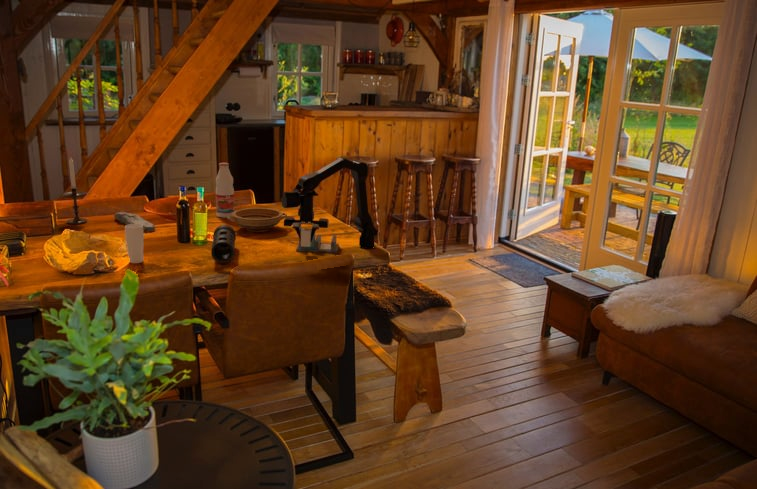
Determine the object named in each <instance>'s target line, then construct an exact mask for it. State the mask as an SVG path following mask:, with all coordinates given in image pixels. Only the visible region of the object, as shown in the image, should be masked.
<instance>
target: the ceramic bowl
mask: <svg viewBox="0 0 757 489" xmlns="http://www.w3.org/2000/svg"><path fill="white" fill-rule="evenodd" d="M232 215H233V217H231V216H228V217H227V220H228V221H231V222H233V223H236V224H237V225H238V226H240V227H241V228H245V229H246V231H247V232H251V233H252V232H254V233H262V232H267V231H269V230H270V228H273V227H275V226H277V225H278V224H280V222H281V221H282V220H284V219H285V218H286V217H288V213H286V212H282V211H281V210H278V209H274V208H267V207H248V208H243V209H242V208H241V209H238V210H235V212H233V213H232Z"/></svg>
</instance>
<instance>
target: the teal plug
mask: <svg viewBox="0 0 757 489" xmlns="http://www.w3.org/2000/svg"><path fill="white" fill-rule="evenodd" d="M315 240H316V233H315V234H314V237H313V240H312V242H311V246H310V247H315Z"/></svg>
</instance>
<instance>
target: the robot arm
mask: <svg viewBox="0 0 757 489" xmlns="http://www.w3.org/2000/svg"><path fill="white" fill-rule="evenodd" d="M343 169H348V170H350V174H351V177H352V178H353V181H354V186H355V196H356V205H357V207H356V208H357V214H356V215H354V216H353V220H354V224H353V225H355V227H356V229H358V232H359V233H360V235H359V248H360V249H369V248H373V247H374V245H375V246H376V244H375V241H376V238H375V236H378V233H379V230H378V229H377V228H376V227H375V226H374V223H373V218H372V216H371V213H370V211H369V202H368V195H367V194H368V193H367V183H366V181H367V178H368V176H369V166H368V164H367V163H366V162H363V161H359V160H357V159H356V160H353V161H352V160H350V159H347V158H345V157H342V156H341V157H340V156H339V157H338V158H337V159H336V160H334V161H332V162H331V163H329V164H327V165H325V166H324V167H322V168H320V169H319V170H317V171H315V172H311V173H308V174H305V175H302V176H300V177H299V178H298V182H297V184H296V185H295V187H294V189H293V190H292V191H283V194H282V196H281V206H282V207H283V209H291V208H298V207H299V208H298V209H297V216H298V217H299V219H296V218H295V217H294V216H287V217H286V218H284V219H283V227H292V229H294V230H295V232H296V233H297V237H298V238H299V240H300V241H301V230H302V225H308V226H309V225H312V227H311V229H312V231H311V242H312V240H313V237H314V234H315V235H316V231H317V230H319V229H320V228H321V229H328V228H329V223H330V220H329V219H328V218H321V217H320V218H319V219H318V220H315V211H314V197H317V196H319V193H317V192H316V190H315V189H317V188H318V187H319V185H320V184H321V183H322V182H323V181H324V180H326V179H328V178H330V177H331V176H333V175H335V174H336V173H338V172H339V171H342V170H343ZM374 248H375V247H374Z"/></svg>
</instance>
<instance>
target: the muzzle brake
mask: <svg viewBox="0 0 757 489" xmlns="http://www.w3.org/2000/svg"><path fill="white" fill-rule="evenodd" d="M236 234H237V233H236V231H235V229H234V228H233V227H232V226H230V225H229V224H228V225H227V224H221V225H219V226H217V227H216V228H215V229H214V231H213V236H212V245H211V252H210V254H211V257H212V259H213V260H214V261H215V262H217V263H220V264H221V265H222V266H225V265H226V264H227V263H229V262H231V261H232V260H233V258H234V256H235V244H236V239H237V238H236V237H237V236H236Z"/></svg>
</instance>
